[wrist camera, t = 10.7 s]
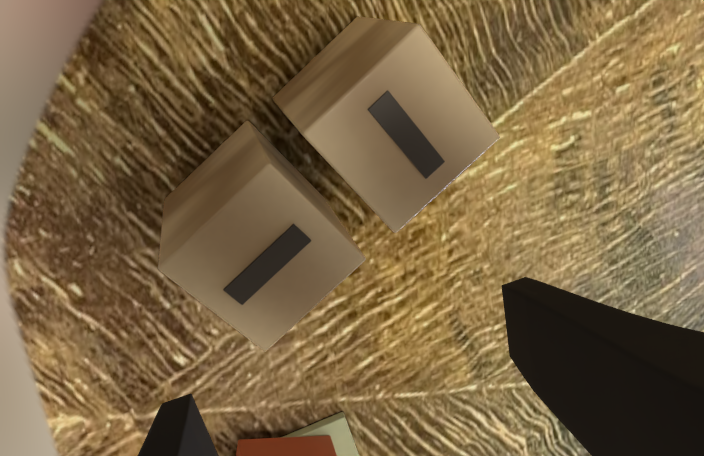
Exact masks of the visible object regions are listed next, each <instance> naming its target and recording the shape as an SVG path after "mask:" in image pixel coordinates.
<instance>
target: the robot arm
mask: <svg viewBox="0 0 704 456" xmlns="http://www.w3.org/2000/svg"><path fill="white" fill-rule="evenodd" d="M502 293H503V301H504V310H505V319H506V328H507V336H508V345H509V354H510V357H511V359H512V360H513V362H514V363H515V365H516V366H517V368H518V369H519V371H520V372H521V374H522V375H523V377H524V378H525V379H526V381H527V382H528V384H529V385H530V386H531V388H532V389H533V391H534V392H535V393H536V394H537V395H538V396H539V398H540V399H541V400H542V401H543V402H544V403H545V404H546V405H547V407H548V408H549V409H550V410H551V411H552V412H553V413H554V414H555V416H556V417H557V418H558V419H559V420H560V421H561V422H562V423H563V424H564V426H565V427H566V428H567V429H568V430H569V431H570V432H571V433H572V434H573V435H574V437H575V438H576V439H577V440H578V441H579V442H580V443H581V444H582V445H583V446H584V448H585V449H586V450H587V451H588V452H589V453H590V454H591V455H592V456H704V332H700V331H695V330H691V329H686V328H682V327H678V326H674V325H670V324H666V323H662V322H659V321H655V320H652V319H649V318H645V317H642V316H638V315H635V314H632V313H628V312H625V311H622V310H619V309H616V308H613V307H610V306H607V305H604V304H601V303H598V302H595V301H593V300H590V299H587V298H584V297H581V296H579V295H576V294H573V293H570V292H568V291H565V290H562V289H559V288H557V287H554V286H551V285H548V284H546V283H543V282H540V281H537V280H534V279H530V278H527V277H524V278H522V279H519V280H516V281H513V282H510V283H507V284H504V285H502ZM138 456H218V454H217V451H216V449H215V447H214V444H213V442H212V440H211V438H210V435H209V433H208V431H207V428H206V426H205V424H204V422H203V419H202V417H201V415H200V412H199V410H198V408H197V406H196V403H195V401H194V399H193V396H192V394H188V395H185V396H183V397H180V398H177V399H174V400H171V401H168V402H165V403H162V405H161V407H160V409H159V410H158V413H157V415H156V417H155V419H154V421H153V424H152V426H151V428H150V430H149V433H148V435H147V437H146V439H145V441H144V443H143V446H142V448H141V450H140V452H139V454H138Z"/></svg>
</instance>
